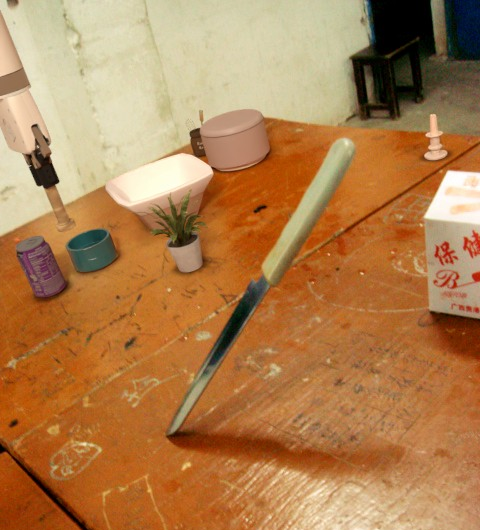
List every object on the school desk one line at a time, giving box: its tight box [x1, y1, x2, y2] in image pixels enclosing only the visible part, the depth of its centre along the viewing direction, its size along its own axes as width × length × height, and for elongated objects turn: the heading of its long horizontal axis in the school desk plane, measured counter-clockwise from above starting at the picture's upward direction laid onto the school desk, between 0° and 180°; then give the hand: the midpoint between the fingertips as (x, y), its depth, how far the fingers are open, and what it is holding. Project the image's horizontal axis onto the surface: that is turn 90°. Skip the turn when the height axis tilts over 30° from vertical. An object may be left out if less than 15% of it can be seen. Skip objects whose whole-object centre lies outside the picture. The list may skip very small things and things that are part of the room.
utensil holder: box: [185, 109, 206, 157], centre depth 191 cm, size 6×6×12 cm
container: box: [199, 108, 271, 172], centre depth 177 cm, size 18×18×12 cm
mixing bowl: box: [64, 227, 119, 273], centre depth 144 cm, size 10×10×6 cm
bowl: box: [104, 152, 214, 231], centre depth 155 cm, size 24×25×11 cm
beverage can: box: [14, 235, 67, 298], centre depth 136 cm, size 7×7×12 cm
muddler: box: [31, 154, 77, 233], centre depth 120 cm, size 4×4×15 cm
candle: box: [423, 113, 448, 161], centre depth 148 cm, size 5×5×10 cm
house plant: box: [130, 189, 208, 273], centre depth 128 cm, size 14×14×16 cm
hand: (48, 183), depth 119 cm, fingers closed on muddler, 2 cm apart
